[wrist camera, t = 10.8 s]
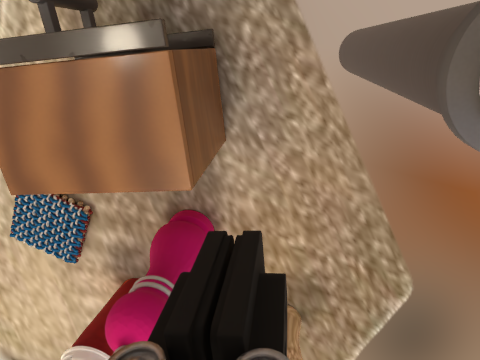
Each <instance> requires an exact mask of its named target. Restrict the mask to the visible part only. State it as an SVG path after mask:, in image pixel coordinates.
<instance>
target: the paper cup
mask: <svg viewBox="0 0 480 360" xmlns="http://www.w3.org/2000/svg"><path fill="white" fill-rule="evenodd" d="M138 279H139V278H132V279H129V280H127V281H126V282H124V283H123V285H122V286H121V287H120V288H119V289H118V290H117V292H116V293H115V294H114V295H113V296H112V298H111V299H110V300H109V301H108V303H107V304H106V305H105V306H104V307H103V309H102V310H101V311H100V312H99V314H98V315H97V316H96V317H95V318H94V320H93V321H92V322H91V323H90V324H89V325H88V327H87V328H86V329H85V330H84V331H83V333H82V334H81V335H80V337H79V338H78V339H77V340H76V342H75V343H74V344H73V345H72V347H71V348H68V349H67V350H65V352H64V353H63V354H62V356H61V360H108V359H109V358H110V357H111V356H112V355H113V353H114V351H113V350H112V349H111V348H110V346H109V344H108V342H107V340H106V336H105V323H106V319H107V316H108V314H109V311H110V310H111V308H112V306H113V305H114V304H115V302H116V301H117V300H119V299H120V298H121V297H122V296H124V295H125V294H128V293H129V291H130V289H131V288H132V287H133V285H134V283H135V282H136V281H137V280H138Z"/></svg>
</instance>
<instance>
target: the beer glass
mask: <svg viewBox="0 0 480 360" xmlns="http://www.w3.org/2000/svg"><path fill="white" fill-rule="evenodd" d="M301 322H302V321H301V316H300V314H299V313H298V311H297V310H296V309H294V308H293V307H291V306H289V305H287V357H288V358H289V360H303V359H302V355H301V350H300V345H299V334H300V329H301Z"/></svg>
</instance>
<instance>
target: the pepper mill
mask: <svg viewBox="0 0 480 360" xmlns="http://www.w3.org/2000/svg"><path fill="white" fill-rule="evenodd" d="M208 231H214V227H213V225H212V223H211V222H210V220H209V219H208V218H207V217H206V216H205V215H203V214H201V213H200V212H197V211H193V210H184V211H180V212H178V213H176V214H175V215H174V216H173V217H172V218H171V220H170V221H169V223H168V224H165V225H164V226H162V227H161V228H160V229H159V230H158V232H157V233H156V235H155V237H154V239H153V241H152V244H151V248H150V269H149V271H148V273H147V275H146V276H144V277H141V278H139V279H138V280H137V281H136V282H135V283H134V285H133V287H132V288H131V289H130V291H129V293H128V294H125V295H124V296H122V297H121V298H120V299H119V300H117V301H116V302H115V304H114V305H113V306H112V308H111V310H110V311H109V314H108V316H107V319H106V323H105V336H106V340H107V342H108V344H109V346H110V348H111V349H112V350H113V351H114V353H115V352H117V351H118V350H119V349H121V348H122V347H124V346H126V345H129V344H131V343H134V342H139V341H148V339H149V337H150V335H151V332H152V330H153V328H154V326H155V324H156V322H157V320H158V318H159V316H160V314H161V312H162V310H163V308H164V306H165V304H166V302H167V300H168V298H169V296H170V293H171V291H172V289H173V287H174V285H175V283H176V281H177V279H178V277H179V275H180V274H181V273H182V272H190V271H191V269H192V267H193V264H194V262H195V260H196V258H197V255H198V253H199V251H200V249H201V246H202V244H203V242H204V240H205V237H206V235H207V233H208ZM114 353H113V354H114Z"/></svg>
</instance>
